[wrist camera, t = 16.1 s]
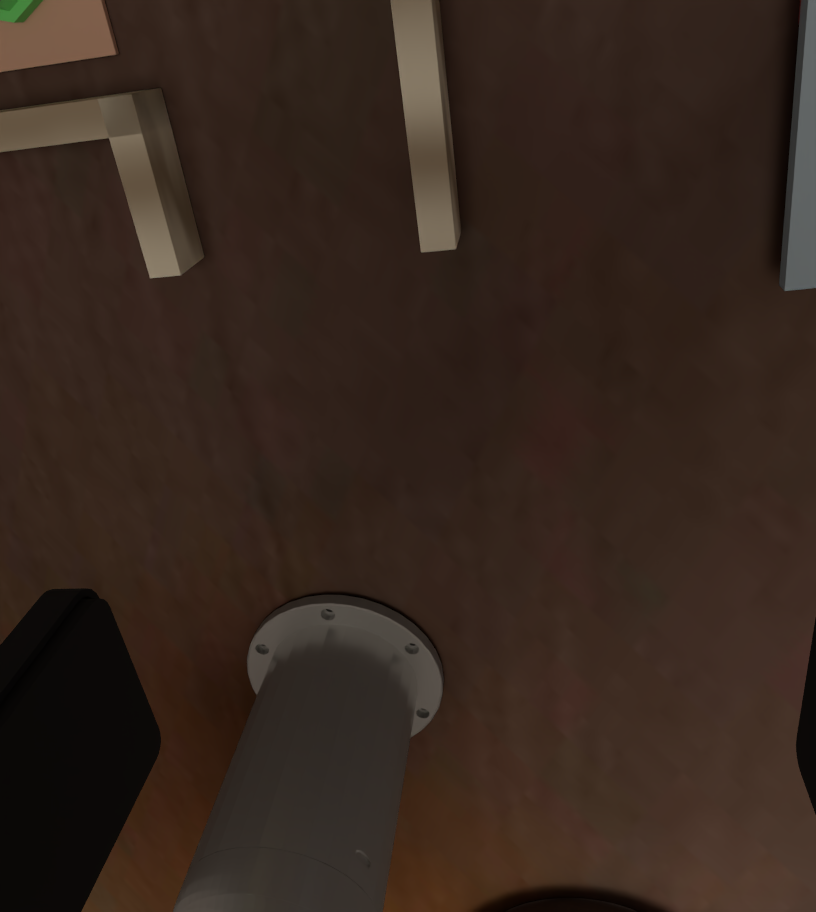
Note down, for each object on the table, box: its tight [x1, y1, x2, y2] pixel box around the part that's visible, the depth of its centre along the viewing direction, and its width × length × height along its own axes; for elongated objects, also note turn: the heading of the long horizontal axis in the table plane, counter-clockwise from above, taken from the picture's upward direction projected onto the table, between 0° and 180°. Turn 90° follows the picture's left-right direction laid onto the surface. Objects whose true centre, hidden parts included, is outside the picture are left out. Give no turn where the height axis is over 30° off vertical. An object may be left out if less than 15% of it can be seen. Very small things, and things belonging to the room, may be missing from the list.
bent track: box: [0, 0, 461, 278], centre depth 31 cm, size 20×23×3 cm
